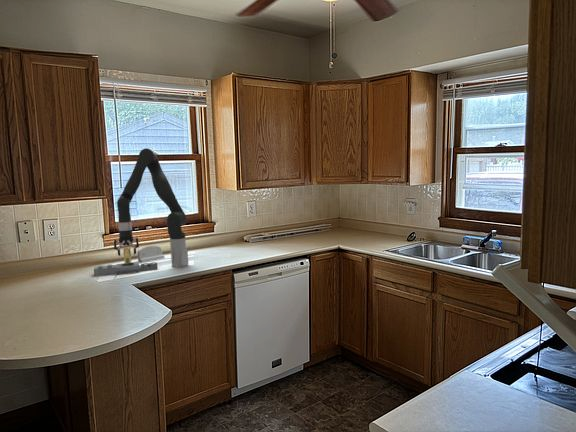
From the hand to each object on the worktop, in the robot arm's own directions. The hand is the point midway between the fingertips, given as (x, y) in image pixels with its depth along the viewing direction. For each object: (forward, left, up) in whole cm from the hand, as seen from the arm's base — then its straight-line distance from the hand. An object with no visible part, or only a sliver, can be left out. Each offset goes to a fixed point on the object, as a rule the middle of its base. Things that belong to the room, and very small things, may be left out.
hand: (127, 255), depth 268 cm
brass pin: (0, 0, -8) cm, 8 cm away
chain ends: (-8, +8, -8) cm, 14 cm away
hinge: (+1, -21, -8) cm, 22 cm away
